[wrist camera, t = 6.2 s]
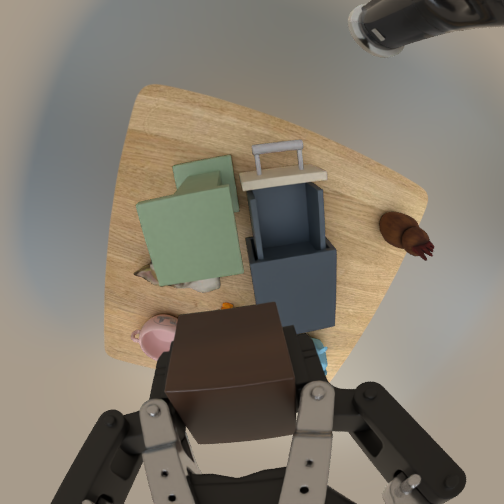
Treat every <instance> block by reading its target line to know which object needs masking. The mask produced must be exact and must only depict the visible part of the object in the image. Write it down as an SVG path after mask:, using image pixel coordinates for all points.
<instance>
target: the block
mask: <svg viewBox="0 0 504 504" xmlns="http://www.w3.org/2000/svg"><path fill="white" fill-rule="evenodd" d="M165 393H166V395H167V397H168V398H169V400H170V402H171V403H172V405H173V407H174V408H175V410H176V411H177V413H178V414H179V416H180V418H181V419H182V421H183V422H184V424H185V425H186V427H187V428H188V429H189V431H190V432H191V434H192V436H193V437H194V439H195V440H196V441H197V443H198V444H216V443H231V442H241V441H251V440H260V439H267V438H274V437H281V436H286V435H292V434H294V432H295V428H296V392H295V375H294V371H293V367H292V363H291V359H290V355H289V352H288V348H287V344H286V340H285V336H284V332H283V328H282V324H281V320H280V317H279V313H278V309H277V305H276V302H269V303H262V304H256V305H249V306H242V307H236V308H228V309H221V310H214V311H206V312H198V313H190V314H181V315H179V316H178V321H177V326H176V331H175V336H174V341H173V346H172V351H171V357H170V362H169V368H168V373H167V379H166V385H165Z"/></svg>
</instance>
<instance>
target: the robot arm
mask: <svg viewBox="0 0 504 504" xmlns="http://www.w3.org/2000/svg"><path fill="white" fill-rule="evenodd" d="M361 9H362V12H361V13H360V15H359V17H358V26H359V29H360V32H361V33H362V35H363V36H364V38H365V39H366V40H367V41H368V42H369V43H370V44H372V45H373V46H375V47H376V48H378V49H381V50H393V49H396V48H398V47H400V46H404V45H407V44H410V43H413V42H416V41H420V40H423V39H427V38H430V37H434V36H438V35H441V34H445V33H450V32H454V31H463V30H468V29H475V28H486V27H503V26H504V0H371V1H370V2H368V3H367V4H366V5H364V6H363V7H361ZM282 328H283V332H284V336H285V340H286V344H287V348H288V352H289V355H290V359H291V363H292V367H293V371H294V375H295V392H296V413H297V412H298V416H297V422H296V428H295V432H294V434H293V438H292V443H291V448H290V453H289V458H288V463H287V467H281V468H275V469H267V470H262V471H259V472H256V473H253V474H250V475H247V476H244V477H240V478H234V477H228V476H222V475H216V474H202V472H201V470H200V469H199V467H198V465H197V462H196V460H195V457H194V454H193V451H192V449H191V445H190V442H189V439H188V436H187V433H186V432H185V431H186V425H185V424H184V422H183V421H182V419H181V418H180V416H179V414H178V413H177V411H176V410H175V408H174V407H173V405H172V403H171V402H170V400H169V398H168V397H167V395H166V393H165V385H166V379H167V373H168V368H169V362H170V357H171V351H172V346H173V341H171V345H170V350H169V351H166V352H163V353H162V354H161V355H160V357H159V358H158V360H157V365H156V370H155V376H154V379H153V384H152V389H151V394H150V398H149V400H148V401H146V402H145V403H144V404H143V405H142V407H141V408H140V410H139V411H137V412H134V413H130V414H126V415H123V414H122V413H121V412H119V411H117V410H108V411H106V412H104V413H103V414H102V415H101V416H100V418H99V419H98V421H97V422H96V424H95V426H94V427H93V429H92V431H91V433H90V434H89V436H88V438H87V440H86V441H85V443H84V444H83V446H82V448H81V450H80V451H79V453H78V455H77V457H76V459H75V460H74V462H73V464H72V465H71V467H70V469H69V471H68V473H67V474H66V476H65V478H64V480H63V482H62V483H61V485H60V487H59V489H58V491H57V493H56V495H55V497H54V499H53V500H52V502H51V504H124V502H125V500H126V498H127V495H128V493H129V491H130V489H131V487H132V484H133V482H134V480H135V478H136V476H137V474H138V471H139V469H140V467H141V465H142V463H143V462H144V466H145V471H146V475H147V479H148V483H149V487H150V491H151V495H152V499H153V502H154V504H356V503H355V502H353V501H351V500H350V499H348V498H346V497H345V496H343V495H342V494H340V493H339V492H337V491H335V490H334V489H332V488H331V487H329V486H328V485H327V482H328V475H329V467H330V459H331V448H332V436H333V434H332V431H345V432H349V434H350V435H351V436H352V438H353V439H354V440H355V441H356V443H357V444H358V445H359V447H360V448H361V449H362V451H363V452H364V453H365V454H366V455H367V457H368V458H369V459H370V461H371V462H372V463H373V465H374V466H375V467H376V468H377V470H378V471H379V472H380V473H381V475H382V476H383V477H384V478H385V479H386V481H387V482H388V485H386V487H385V488H384V491H383V500H384V501H385V504H443V503H445V502H447V501H449V500H450V499H452V498H454V497H456V496H457V495H458V494H459V493H460V492H462V490H463V489H464V487H465V484H466V475H465V473H464V471H463V470H462V469H461V468H460V467H459V466H458V465H457V464H456V463H455V462H454V461H453V460H452V458H451V457H450V456H449V455H448V454H447V453H446V452H445V451H444V450H443V449H442V448H441V447H440V446H439V445H438V444H437V443H436V442H435V441H434V440H433V439H432V438H431V436H430V435H429V434H428V433H427V432H426V431H425V430H424V429H423V428H422V427H421V426H420V425H419V424H418V423H417V422H416V421H415V420H414V419H413V418H412V417H411V416H410V415H409V413H408V412H407V411H406V410H405V409H404V408H403V407H402V406H401V405H400V404H399V403H398V402H397V401H396V400H395V399H394V398H393V397H392V396H391V395H390V394H389V393H388V391H387V390H385V388H384V387H383V386H381V385H380V384H378V383H376V382H365V383H362V384H360V385H359V386H358V387H357V388H356V389H340V388H336V387H334V386H333V385H331V384H330V383H329V382H328V380H327V378H326V376H325V373H324V370H323V367H322V364H321V362H320V359H319V356H318V353H317V350H316V348H315V345H314V342H313V340H312V339H311V338H310V337H309V336H308V335H307V334H306V333H305V334H299V335H297V334H296V331H295V327H294V325H290V326H285V327H282Z"/></svg>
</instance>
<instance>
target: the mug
mask: <svg viewBox="0 0 504 504" xmlns="http://www.w3.org/2000/svg"><path fill="white" fill-rule="evenodd" d="M177 321H178V319H177V318H175V317H173V316H170V315H164V314H162V315H156V316H154V317H152V318H150V319H149V320H148V321H147V322H145V324H144V325H143V327H142V328H141V330H135V331H133V332H132V334H131V339H132V340H133V341H134V342H139V344H140V347H141V349H142V350H143V352H144V353H145V354H146V355H147V356H149V357H150V358H152V359H154V360H156V361H157V360H158V358H159V357H160V355H161V354H162V353H163V352H166V351H169V350H170V345H171V341H174V336H175V331H176V326H177ZM138 333H139V334H140V335H139V339H137V338H135V335H136V334H138Z"/></svg>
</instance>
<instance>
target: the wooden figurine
mask: <svg viewBox="0 0 504 504" xmlns="http://www.w3.org/2000/svg"><path fill="white" fill-rule="evenodd" d="M379 225H380V232H381V234H382V236H383V238H384V239H385V241H387V242H388V243H389V244H391V245H393V246H395V247H397V248H401V249H405V250H406V251H407V252H408V253H409V254H411V255H413V256H420V257H421V258H423V259H424V260H425V261H426V260H427V258H426V256H425V255H424V253H425V254H427V255H429V256H433V255H432V253H430V251H431V252H433V249H434V245H433V244H432V243H431V242H430V241H429V240H430V239H429V237H428V235H427V233H426V232H425V231H424V230H422V229H421V228H420V227H419V225H418V223H417V221H416V220H415V219H413V218H412V217H410V216H408V215H405V214H402V213H399V212H388V213H385V214H384V215H383V216H382V218H381V220H380V224H379Z"/></svg>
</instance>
